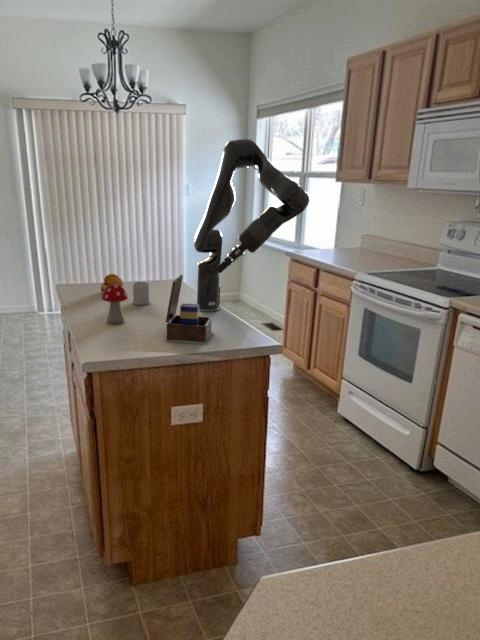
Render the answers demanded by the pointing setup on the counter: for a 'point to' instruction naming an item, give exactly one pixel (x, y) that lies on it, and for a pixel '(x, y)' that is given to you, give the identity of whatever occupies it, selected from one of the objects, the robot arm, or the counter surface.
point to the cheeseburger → (111, 281)
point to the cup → (141, 293)
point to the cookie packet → (189, 314)
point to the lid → (174, 298)
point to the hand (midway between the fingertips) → (220, 269)
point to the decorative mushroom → (114, 302)
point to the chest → (189, 330)
